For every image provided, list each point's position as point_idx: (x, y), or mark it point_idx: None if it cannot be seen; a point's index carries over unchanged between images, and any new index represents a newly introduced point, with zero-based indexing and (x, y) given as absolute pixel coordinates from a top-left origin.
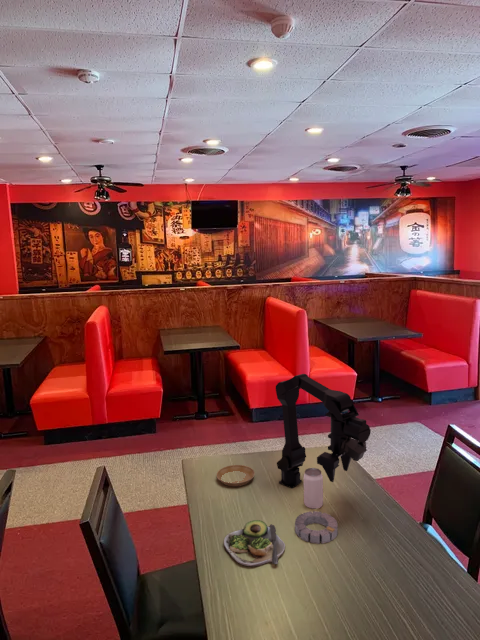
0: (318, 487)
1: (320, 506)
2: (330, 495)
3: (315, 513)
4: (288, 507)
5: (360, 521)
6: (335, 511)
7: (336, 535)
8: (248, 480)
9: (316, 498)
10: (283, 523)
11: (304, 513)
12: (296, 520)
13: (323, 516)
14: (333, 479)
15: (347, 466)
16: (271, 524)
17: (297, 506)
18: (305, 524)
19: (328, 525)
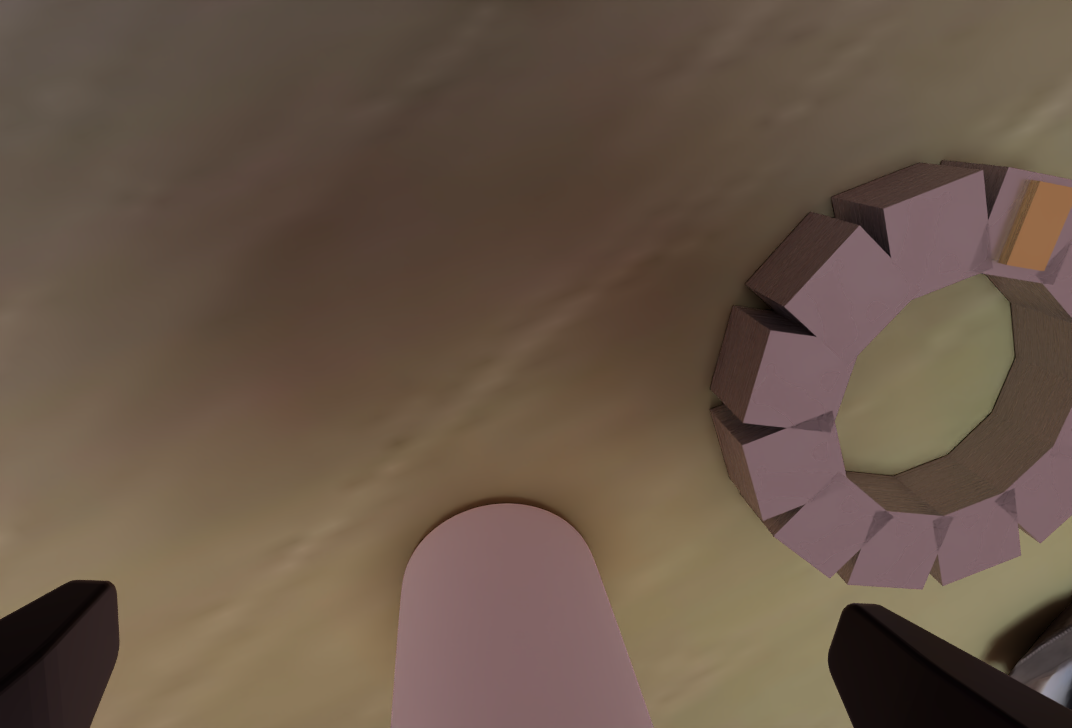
0: (609, 697)
1: (534, 508)
2: (231, 522)
3: (796, 482)
4: (658, 709)
5: (567, 8)
6: (511, 349)
7: (954, 161)
8: None
9: (596, 598)
10: None
11: (835, 565)
12: (968, 567)
13: (819, 391)
14: (940, 645)
15: (13, 688)
16: None
17: None
18: (892, 485)
19: (970, 275)
